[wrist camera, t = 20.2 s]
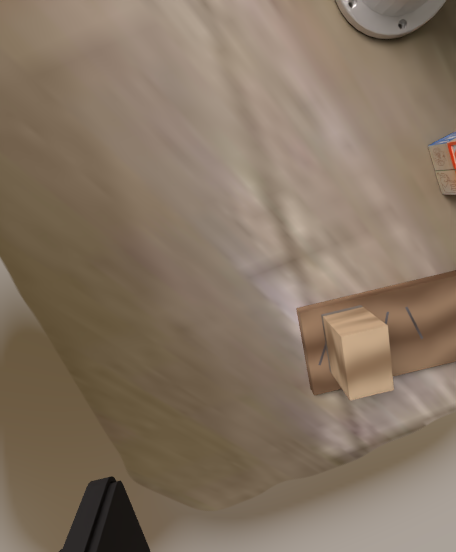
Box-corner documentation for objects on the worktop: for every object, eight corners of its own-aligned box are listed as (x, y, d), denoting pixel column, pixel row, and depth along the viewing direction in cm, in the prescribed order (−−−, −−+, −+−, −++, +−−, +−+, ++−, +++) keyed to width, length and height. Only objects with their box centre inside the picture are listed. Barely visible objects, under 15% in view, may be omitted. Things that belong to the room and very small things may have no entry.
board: (296, 308, 40) (299, 312, 39) (466, 267, 40) (475, 270, 39) (310, 388, 44) (314, 395, 42) (467, 350, 44) (476, 356, 42)
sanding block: (320, 314, 39) (341, 336, 33) (360, 305, 39) (387, 325, 33) (329, 370, 41) (350, 400, 36) (367, 361, 41) (393, 390, 36)
